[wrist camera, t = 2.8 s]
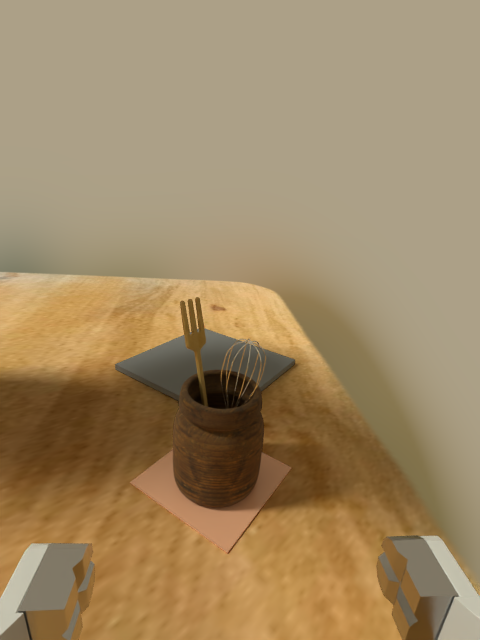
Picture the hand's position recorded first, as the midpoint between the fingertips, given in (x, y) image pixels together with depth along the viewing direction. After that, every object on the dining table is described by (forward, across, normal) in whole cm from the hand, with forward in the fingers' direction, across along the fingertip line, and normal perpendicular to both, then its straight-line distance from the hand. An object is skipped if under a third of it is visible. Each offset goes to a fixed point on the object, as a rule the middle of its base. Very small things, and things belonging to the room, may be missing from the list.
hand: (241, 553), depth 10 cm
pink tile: (+12, 0, +9) cm, 16 cm away
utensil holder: (+12, 0, +9) cm, 16 cm away
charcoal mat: (+28, +1, +9) cm, 30 cm away
